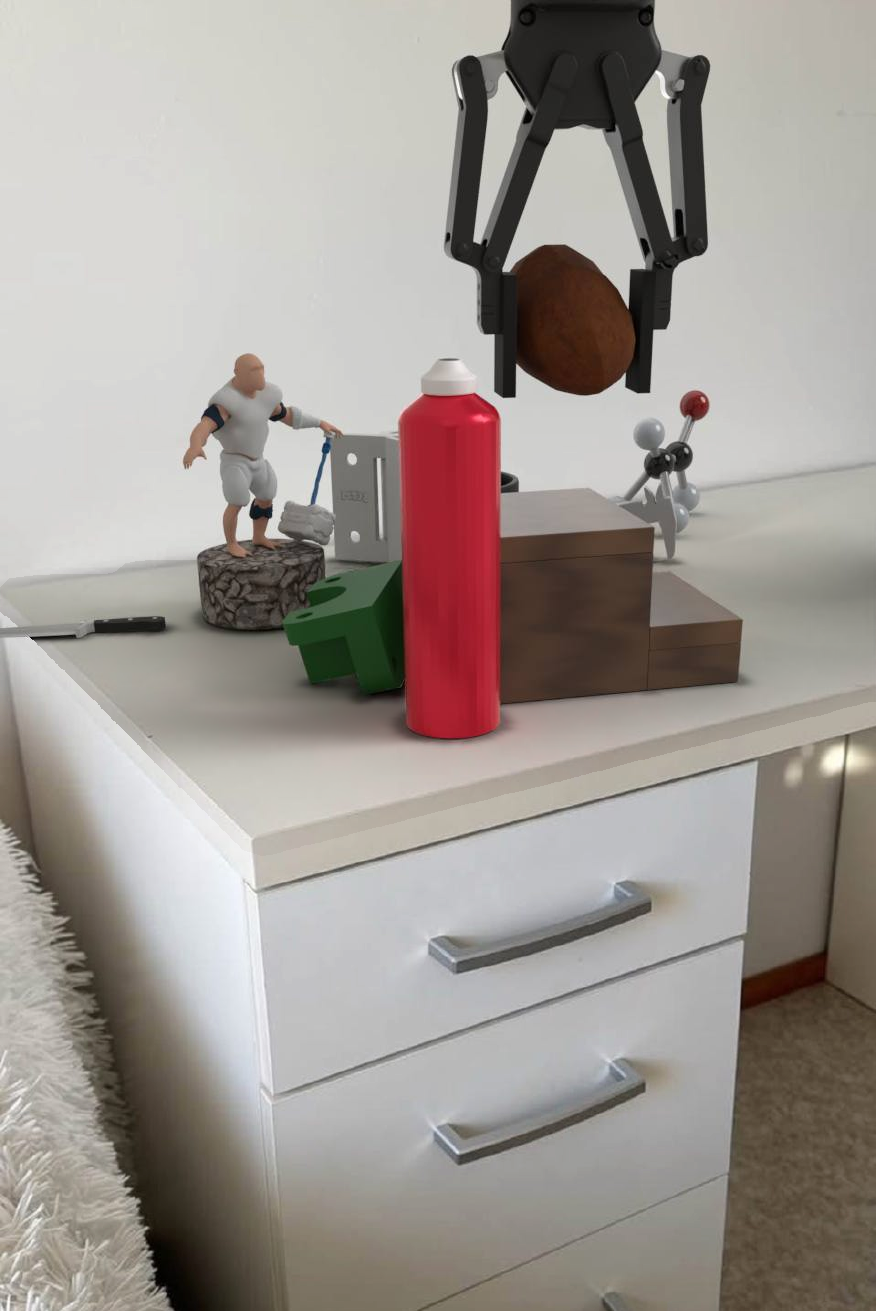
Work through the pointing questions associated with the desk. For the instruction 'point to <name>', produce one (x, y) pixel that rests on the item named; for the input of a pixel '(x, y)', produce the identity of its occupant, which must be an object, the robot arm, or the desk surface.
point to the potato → (570, 322)
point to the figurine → (258, 508)
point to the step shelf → (599, 605)
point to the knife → (87, 627)
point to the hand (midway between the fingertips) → (571, 391)
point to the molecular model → (670, 458)
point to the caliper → (656, 514)
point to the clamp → (353, 628)
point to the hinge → (366, 496)
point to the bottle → (451, 554)
